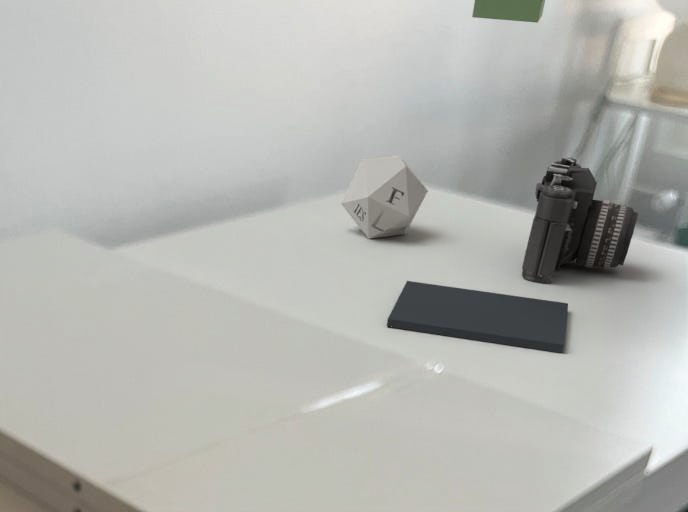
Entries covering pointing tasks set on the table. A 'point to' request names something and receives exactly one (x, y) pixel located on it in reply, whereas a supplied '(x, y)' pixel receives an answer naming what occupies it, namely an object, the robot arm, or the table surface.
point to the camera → (575, 224)
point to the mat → (481, 316)
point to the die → (384, 196)
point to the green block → (509, 10)
